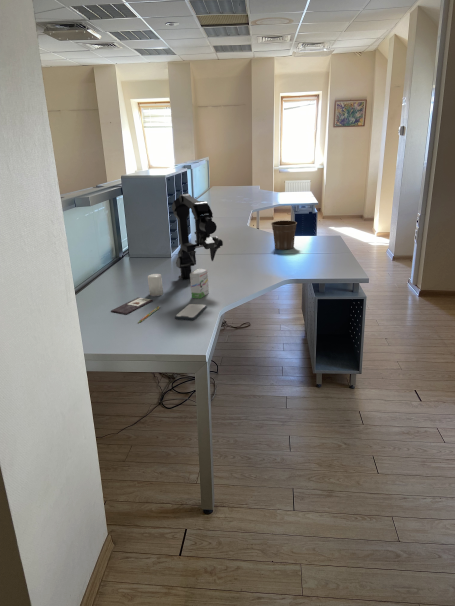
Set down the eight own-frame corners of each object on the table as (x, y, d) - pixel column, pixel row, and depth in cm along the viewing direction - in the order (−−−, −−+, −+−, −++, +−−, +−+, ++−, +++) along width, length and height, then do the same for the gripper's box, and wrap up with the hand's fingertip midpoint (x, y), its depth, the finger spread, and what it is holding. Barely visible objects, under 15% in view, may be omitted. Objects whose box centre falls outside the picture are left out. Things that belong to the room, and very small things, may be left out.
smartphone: (189, 306, 197) (174, 320, 183) (189, 303, 196) (173, 316, 182) (208, 308, 194) (194, 321, 180) (207, 304, 194) (193, 318, 179)
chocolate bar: (110, 310, 194) (137, 297, 208) (111, 312, 194) (137, 299, 209) (126, 313, 190) (153, 299, 204) (126, 315, 190) (153, 301, 204)
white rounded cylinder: (147, 293, 214) (145, 275, 211) (160, 290, 217) (158, 273, 214) (152, 297, 209) (150, 278, 206) (165, 294, 212) (163, 276, 209)
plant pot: (290, 251, 276) (290, 226, 270) (267, 249, 284) (266, 224, 278) (300, 246, 289) (301, 221, 283) (278, 244, 297) (278, 219, 291)
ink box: (200, 299, 204) (198, 274, 200) (191, 297, 206) (189, 273, 202) (209, 293, 211) (207, 269, 207) (200, 291, 213) (198, 268, 209)
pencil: (139, 324, 180) (160, 308, 196) (139, 322, 179) (160, 306, 195) (136, 324, 180) (157, 308, 196) (136, 321, 180) (157, 305, 196)
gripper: (191, 236, 193) (193, 270, 199) (228, 229, 202) (229, 263, 208) (180, 231, 202) (183, 264, 208) (216, 226, 211) (217, 257, 217)
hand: (203, 262), depth 210 cm, fingers open, 9 cm apart
